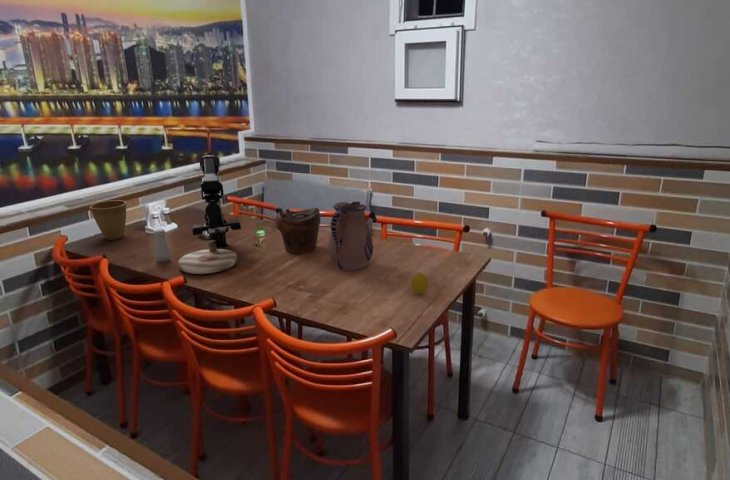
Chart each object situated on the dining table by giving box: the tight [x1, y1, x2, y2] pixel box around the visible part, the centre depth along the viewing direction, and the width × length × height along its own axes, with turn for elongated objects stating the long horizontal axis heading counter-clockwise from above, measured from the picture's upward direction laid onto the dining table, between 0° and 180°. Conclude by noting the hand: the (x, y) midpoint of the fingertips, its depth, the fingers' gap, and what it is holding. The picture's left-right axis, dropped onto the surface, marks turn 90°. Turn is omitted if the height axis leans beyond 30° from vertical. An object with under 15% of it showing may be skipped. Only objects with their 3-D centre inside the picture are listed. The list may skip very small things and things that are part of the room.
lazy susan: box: [178, 240, 238, 275], centre depth 197 cm, size 22×22×6 cm
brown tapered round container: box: [275, 207, 322, 255], centre depth 213 cm, size 18×20×18 cm
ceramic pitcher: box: [327, 201, 374, 271], centre depth 191 cm, size 18×21×25 cm
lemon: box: [411, 272, 429, 295], centre depth 170 cm, size 6×6×8 cm
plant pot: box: [89, 199, 127, 241], centre depth 231 cm, size 15×15×16 cm
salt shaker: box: [153, 228, 171, 263], centre depth 202 cm, size 6×6×13 cm
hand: (219, 246), depth 205 cm, fingers closed
